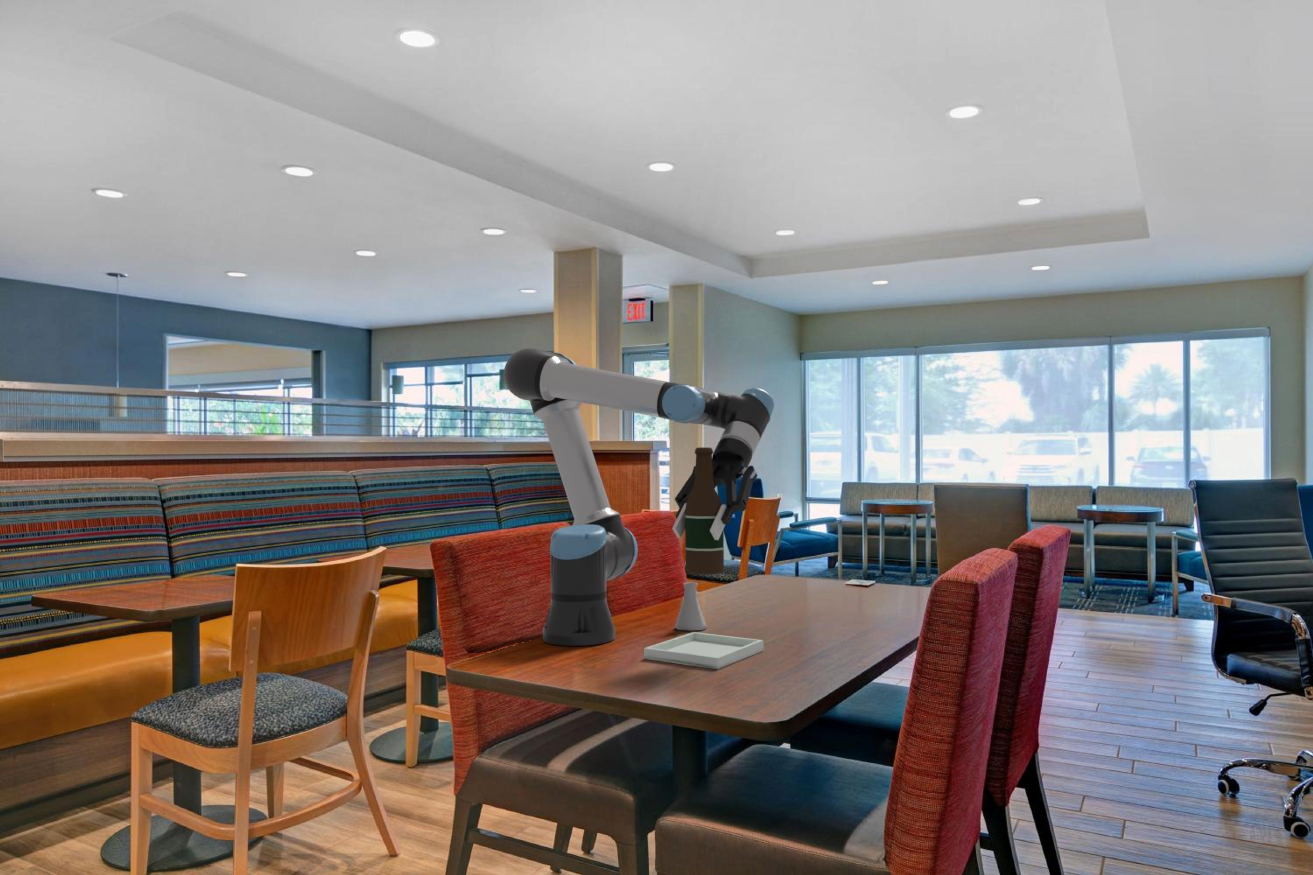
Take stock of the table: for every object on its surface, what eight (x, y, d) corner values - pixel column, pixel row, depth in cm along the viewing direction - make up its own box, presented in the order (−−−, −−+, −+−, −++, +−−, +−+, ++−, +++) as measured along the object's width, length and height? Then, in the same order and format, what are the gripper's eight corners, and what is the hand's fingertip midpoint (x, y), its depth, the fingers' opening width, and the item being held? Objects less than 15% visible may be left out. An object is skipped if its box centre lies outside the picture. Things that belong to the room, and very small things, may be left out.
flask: (707, 625, 201) (707, 581, 201) (706, 631, 194) (705, 585, 194) (675, 625, 202) (675, 580, 202) (673, 631, 195) (672, 585, 195)
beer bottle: (678, 573, 170) (677, 447, 170) (692, 568, 177) (691, 447, 177) (717, 575, 167) (716, 447, 167) (729, 570, 174) (729, 447, 174)
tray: (644, 658, 168) (644, 648, 168) (693, 641, 183) (693, 631, 183) (718, 669, 160) (717, 658, 160) (763, 650, 175) (763, 640, 175)
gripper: (787, 462, 179) (749, 550, 166) (699, 461, 191) (657, 544, 177) (775, 435, 175) (735, 523, 161) (686, 436, 186) (642, 518, 173)
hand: (695, 534), depth 169 cm, fingers closed on beer bottle, 8 cm apart
